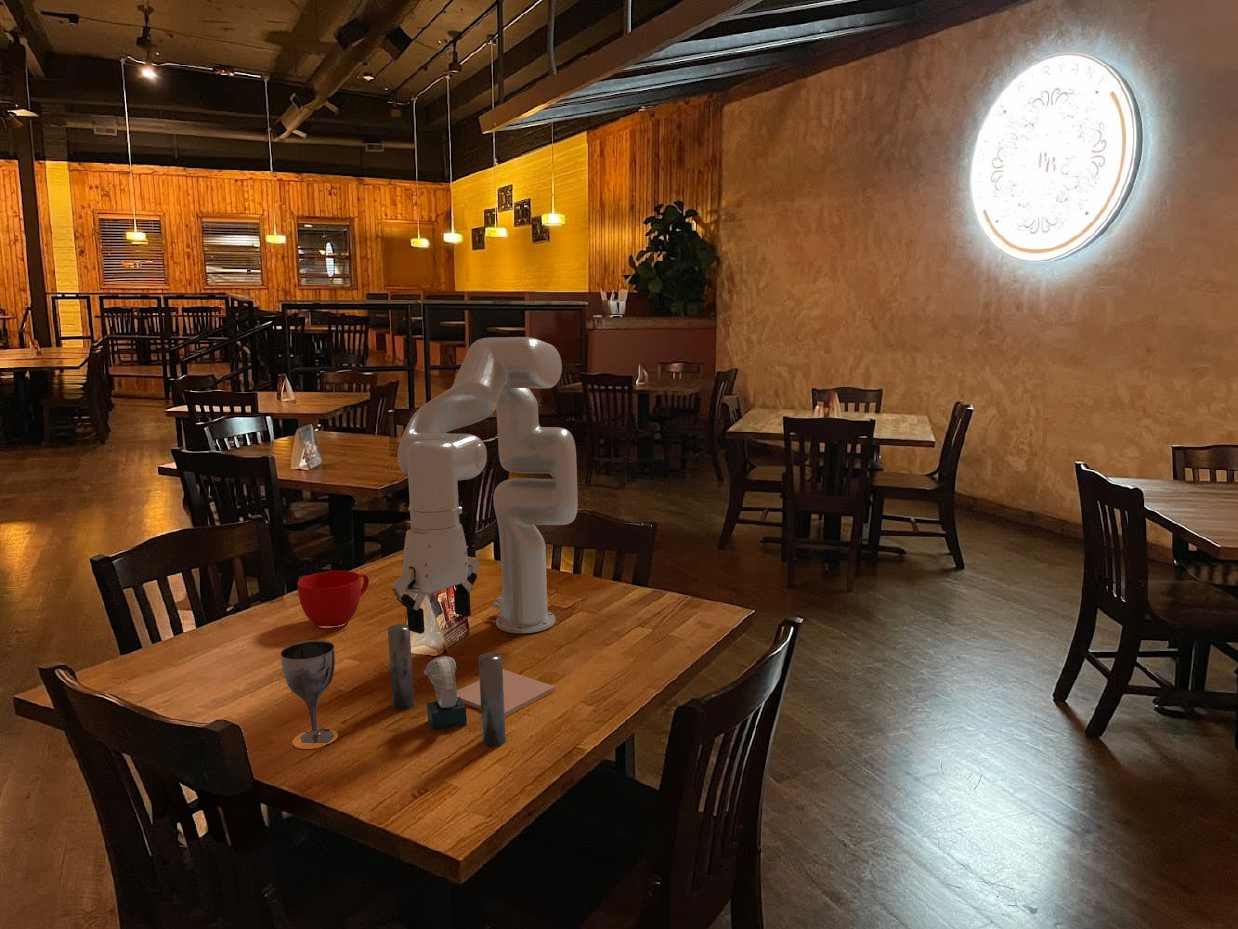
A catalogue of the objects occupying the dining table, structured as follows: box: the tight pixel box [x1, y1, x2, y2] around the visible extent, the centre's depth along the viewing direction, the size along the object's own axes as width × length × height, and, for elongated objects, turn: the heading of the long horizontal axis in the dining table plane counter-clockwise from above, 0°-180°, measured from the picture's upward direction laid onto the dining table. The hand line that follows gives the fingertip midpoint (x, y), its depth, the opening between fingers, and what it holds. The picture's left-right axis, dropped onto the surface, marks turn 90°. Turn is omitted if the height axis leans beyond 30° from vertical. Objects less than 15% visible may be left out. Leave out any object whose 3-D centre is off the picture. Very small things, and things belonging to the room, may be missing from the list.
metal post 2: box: [478, 652, 507, 748], centre depth 138 cm, size 4×4×14 cm
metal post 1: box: [387, 623, 415, 711], centre depth 151 cm, size 4×4×14 cm
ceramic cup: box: [297, 570, 370, 627], centre depth 194 cm, size 13×17×10 cm
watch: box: [423, 655, 468, 733], centre depth 145 cm, size 6×8×11 cm
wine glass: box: [280, 639, 336, 744], centre depth 140 cm, size 8×8×15 cm
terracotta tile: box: [457, 669, 556, 718], centre depth 156 cm, size 13×13×1 cm
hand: (440, 623), depth 142 cm, fingers open, 9 cm apart
